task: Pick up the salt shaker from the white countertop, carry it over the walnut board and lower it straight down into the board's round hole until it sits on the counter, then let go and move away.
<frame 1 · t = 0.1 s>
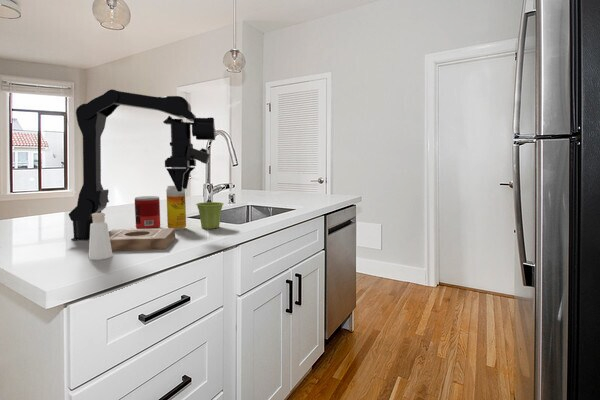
hand: (182, 190, 109), 15 cm above the worktop, tool pointing down, fingers open, 9 cm apart
yellow canister: (177, 229, 122), on the worktop
plant pot: (210, 228, 125), on the worktop
salt shaker: (100, 257, 86), on the worktop
board: (137, 243, 100), on the worktop
canned food: (148, 228, 122), on the worktop
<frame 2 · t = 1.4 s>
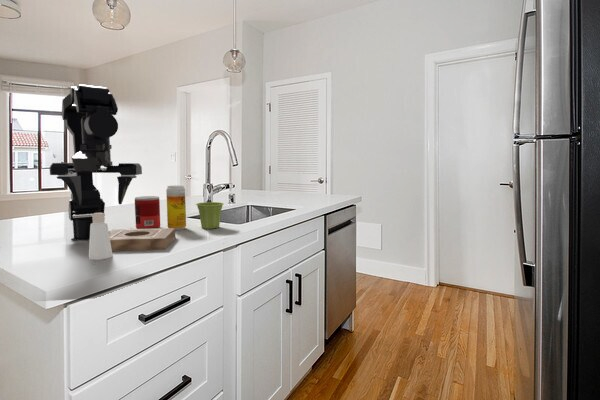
hand: (100, 204, 85), 13 cm above the worktop, tool pointing down, fingers open, 9 cm apart
nothing on the worktop moved.
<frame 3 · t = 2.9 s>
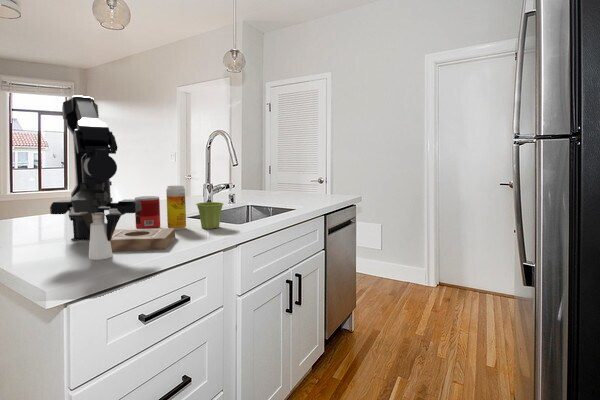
hand: (99, 241, 86), 4 cm above the worktop, tool pointing down, fingers closed on salt shaker, 4 cm apart
salt shaker: (100, 257, 86), on the worktop, touching gripper
everything else where it was.
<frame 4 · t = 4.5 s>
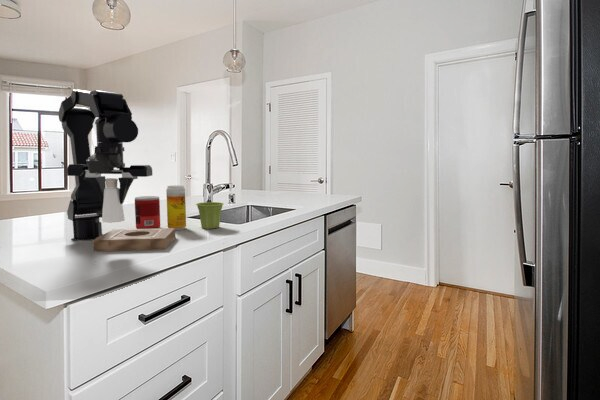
hand: (112, 203, 90), 13 cm above the worktop, tool pointing down, fingers closed on salt shaker, 4 cm apart
salt shaker: (113, 221, 91), point 8 cm above the worktop, touching gripper
everything else where it was.
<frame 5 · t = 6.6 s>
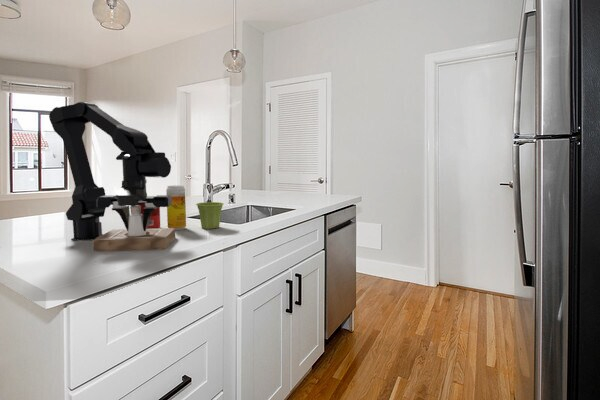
hand: (136, 231, 99), 4 cm above the worktop, tool pointing down, fingers closed on salt shaker, 4 cm apart
salt shaker: (137, 244, 100), resting in board, touching gripper
everything else where it was.
when the fingers open (4 cm above the worktop, at t = 6.9 s): salt shaker stays where it is, resting in board.
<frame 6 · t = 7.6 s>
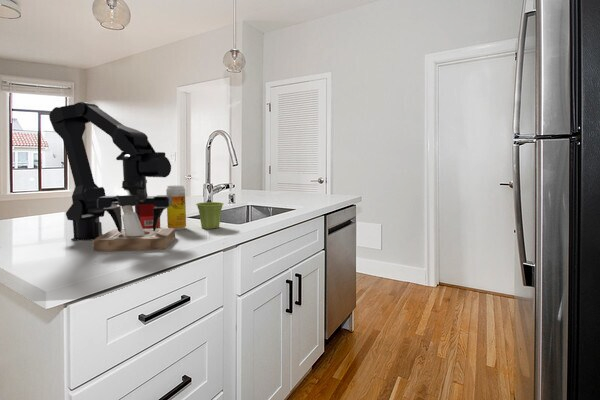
hand: (137, 231, 99), 4 cm above the worktop, tool pointing down, fingers open, 9 cm apart
salt shaker: (137, 242, 100), resting in board, touching gripper
everything else where it was.
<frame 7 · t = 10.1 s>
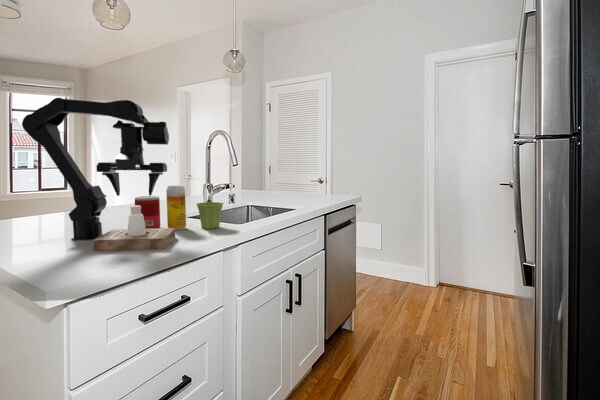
hand: (134, 195, 107), 13 cm above the worktop, tool pointing down, fingers open, 9 cm apart
salt shaker: (137, 244, 100), resting in board
everything else where it was.
at the end: salt shaker 0.1 cm off-centre on the board, point 0.0 cm above the board's base; salt shaker tilted 0°; the gripper is holding nothing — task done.
